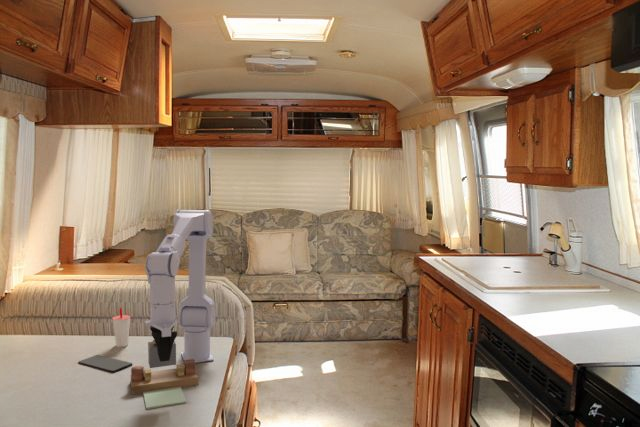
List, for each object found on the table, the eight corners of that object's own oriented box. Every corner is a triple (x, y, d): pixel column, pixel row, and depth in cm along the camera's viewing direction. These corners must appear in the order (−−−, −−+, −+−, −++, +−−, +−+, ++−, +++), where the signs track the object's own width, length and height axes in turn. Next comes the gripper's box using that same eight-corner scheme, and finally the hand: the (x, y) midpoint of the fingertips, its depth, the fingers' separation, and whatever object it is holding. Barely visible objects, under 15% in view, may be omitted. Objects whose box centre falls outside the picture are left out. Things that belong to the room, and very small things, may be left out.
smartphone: (97, 354, 152) (133, 363, 145) (97, 357, 152) (133, 366, 145) (77, 361, 146) (113, 371, 139) (77, 364, 146) (113, 374, 139)
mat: (143, 393, 126) (143, 392, 126) (180, 388, 130) (180, 386, 130) (146, 409, 118) (146, 407, 118) (186, 402, 122) (186, 401, 121)
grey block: (148, 362, 124) (148, 339, 124) (174, 359, 126) (173, 336, 126) (149, 368, 120) (149, 344, 120) (176, 364, 123) (175, 341, 122)
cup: (113, 349, 158) (112, 310, 157) (112, 343, 162) (111, 306, 161) (131, 346, 160) (130, 309, 159) (130, 341, 165) (129, 304, 164)
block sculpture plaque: (130, 382, 133) (130, 363, 133) (193, 373, 139) (193, 355, 139) (132, 394, 126) (132, 374, 125) (198, 384, 132) (198, 365, 132)
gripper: (142, 296, 127) (143, 349, 129) (147, 311, 114) (148, 370, 115) (172, 294, 130) (172, 346, 131) (180, 308, 117) (180, 366, 118)
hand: (163, 357), depth 123 cm, fingers closed on grey block, 4 cm apart
